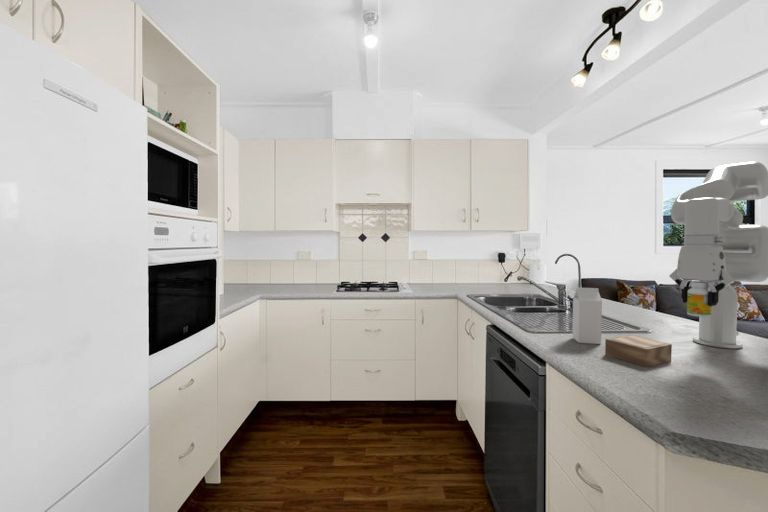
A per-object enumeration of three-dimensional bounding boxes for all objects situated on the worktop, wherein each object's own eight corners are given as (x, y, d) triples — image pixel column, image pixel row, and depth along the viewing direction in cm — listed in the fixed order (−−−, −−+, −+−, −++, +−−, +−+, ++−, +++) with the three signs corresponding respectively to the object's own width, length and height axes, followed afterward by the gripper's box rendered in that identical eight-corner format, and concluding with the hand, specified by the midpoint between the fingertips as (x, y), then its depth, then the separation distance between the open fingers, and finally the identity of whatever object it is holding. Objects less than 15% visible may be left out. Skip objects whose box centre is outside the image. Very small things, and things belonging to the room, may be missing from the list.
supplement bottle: (681, 313, 108) (682, 281, 107) (698, 312, 108) (699, 280, 108) (699, 317, 102) (700, 283, 102) (716, 316, 103) (717, 282, 102)
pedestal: (629, 350, 118) (629, 334, 118) (671, 361, 107) (671, 344, 107) (605, 354, 113) (605, 338, 113) (646, 366, 102) (647, 349, 102)
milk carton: (601, 344, 124) (602, 289, 123) (578, 343, 126) (579, 289, 125) (593, 339, 131) (594, 287, 130) (572, 338, 133) (573, 286, 132)
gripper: (746, 241, 98) (744, 307, 99) (674, 240, 113) (673, 298, 114) (732, 242, 95) (730, 310, 96) (660, 241, 110) (658, 300, 111)
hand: (699, 303), depth 105 cm, fingers closed on supplement bottle, 5 cm apart
